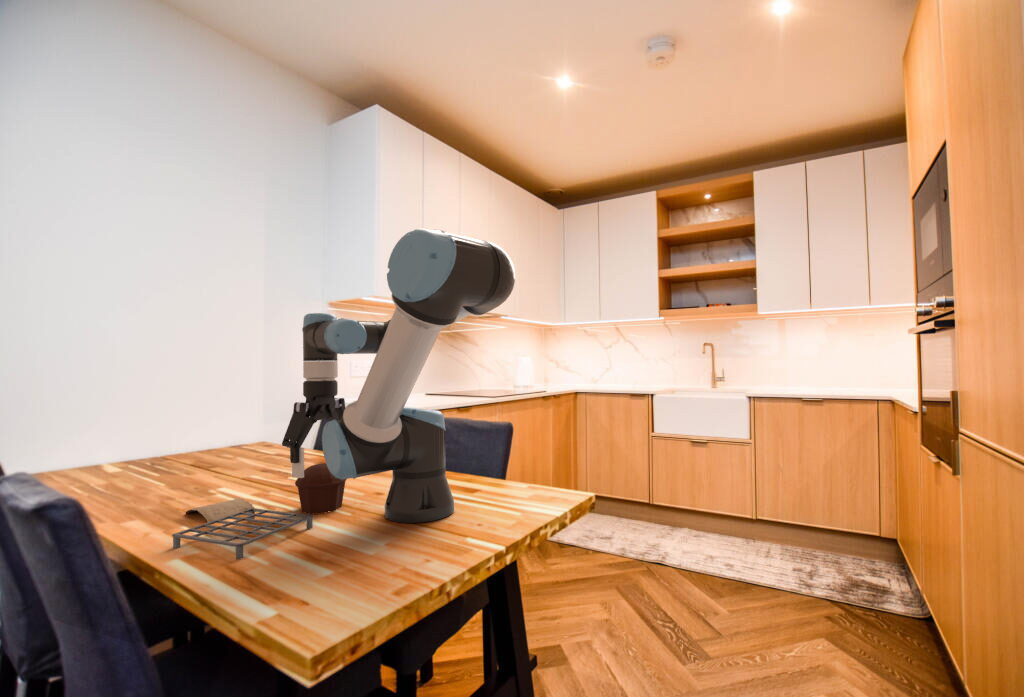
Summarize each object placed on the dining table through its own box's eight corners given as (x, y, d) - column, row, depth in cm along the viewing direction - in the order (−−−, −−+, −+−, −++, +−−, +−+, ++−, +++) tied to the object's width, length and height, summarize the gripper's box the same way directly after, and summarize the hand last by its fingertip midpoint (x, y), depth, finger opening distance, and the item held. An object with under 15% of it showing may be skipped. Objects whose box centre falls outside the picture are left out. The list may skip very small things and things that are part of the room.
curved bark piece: (258, 514, 110) (258, 502, 110) (210, 527, 102) (210, 514, 102) (228, 505, 119) (228, 494, 119) (182, 516, 111) (182, 504, 111)
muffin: (287, 508, 113) (287, 465, 113) (333, 498, 121) (333, 458, 121) (307, 519, 104) (307, 472, 105) (356, 508, 112) (355, 464, 112)
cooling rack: (313, 527, 99) (313, 515, 99) (239, 559, 83) (239, 545, 83) (252, 519, 105) (252, 508, 105) (172, 548, 89) (172, 534, 89)
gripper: (344, 377, 126) (344, 458, 126) (263, 382, 103) (263, 482, 103) (367, 377, 124) (368, 460, 123) (290, 382, 100) (290, 485, 100)
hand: (320, 470), depth 113 cm, fingers open, 13 cm apart
